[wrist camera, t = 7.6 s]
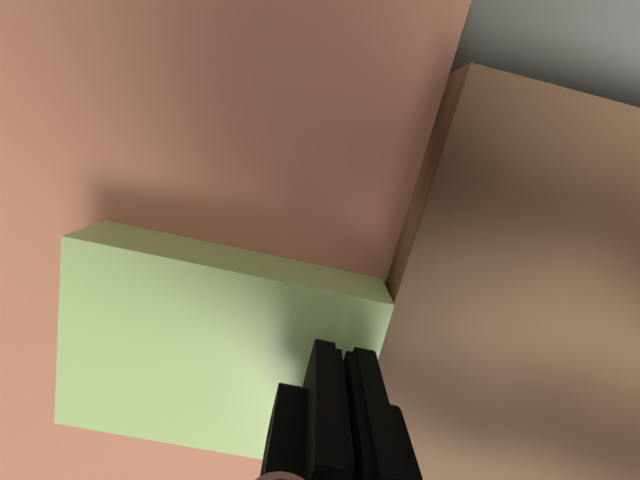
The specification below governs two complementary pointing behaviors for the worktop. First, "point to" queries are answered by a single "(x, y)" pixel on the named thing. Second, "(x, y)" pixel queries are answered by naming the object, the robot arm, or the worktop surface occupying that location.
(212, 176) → the mat
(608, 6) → the worktop surface
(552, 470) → the plate
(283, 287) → the sponge
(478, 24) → the worktop surface
